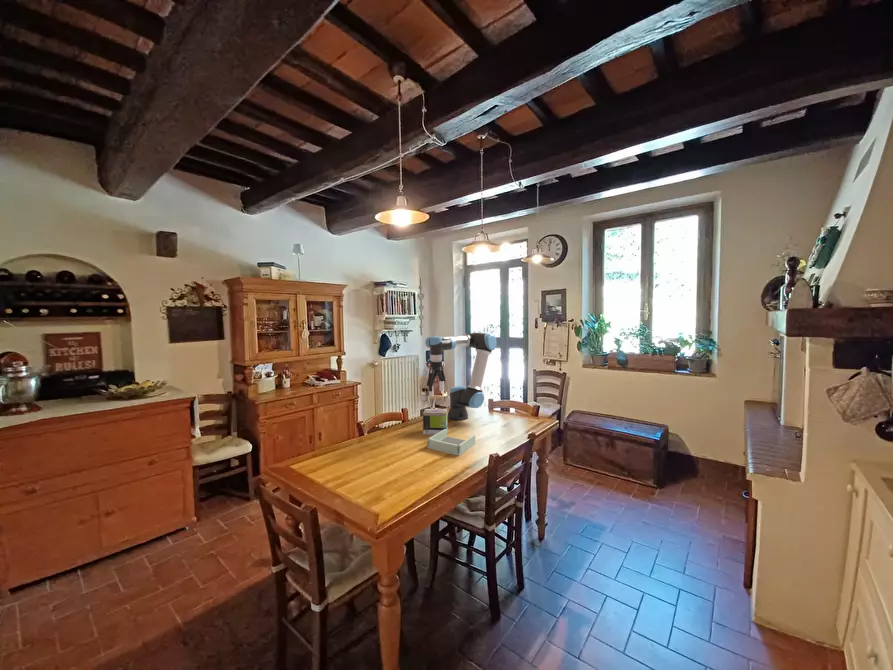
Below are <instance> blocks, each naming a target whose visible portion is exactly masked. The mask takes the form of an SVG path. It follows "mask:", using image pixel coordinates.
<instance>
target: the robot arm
mask: <svg viewBox="0 0 893 670" xmlns="http://www.w3.org/2000/svg"><path fill="white" fill-rule="evenodd" d="M424 344H425V346H426V348H429V352H430V353H429V356H430V357H429V359H430V364H429V365H430V367H431V369H429V371H428V372H429V374H428V376H427V377H428V379H427V383H426V386H427V387H428V396H429V397H434V384H435V380H436V378H437V377H438V380H439V381H438V383H439V392H444V390H445V389H444V383H445V382H446V376H445V373H444V367H443V361H442V360H443V351H451V350H454V349H455V348H456V347H464V348H472V349H475V352H476V355H475V358H474V363H473V368H472V372H471V376H470V380H469V383H468V384H469V385H467V386H465V385H456V386H452V387H451V388H450V391H449V408H448V411H447V419H449V420H452V421H464V420H468V418H469V413H468V409H467V407H469V408H471V409H479V408H480V407H481V406H482V405H483V404H484V401H485V395H484V393H483V388H482V385H483V380H484V377H485V373H486V367H487V363H488V360H489V356H490V355H491V354H492V351H494V350H495V349H496V348H497V338H496V336H495V335H494V334H492V333H486V332H485V333H484V332H471V333H464V334H462V335H451V336H450V335H449V336H439V335H434V336H427V337H426V338H425V341H424Z"/></svg>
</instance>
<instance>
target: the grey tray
mask: <svg viewBox="0 0 893 670" xmlns="http://www.w3.org/2000/svg"><path fill="white" fill-rule="evenodd" d="M447 433H448V430H447V429H444V430H442V431H441V432H439V433H437V434H435V435H431V436H430V437H428V438H427V449H430V450H433V451H438V452H440V453H441V452H442V453H445V454H449V455H453V456H458V457H460V456H461V455H463V454H464V453H465V452H467V451H468V450H470V449H471V448H472V447H474V446H475V444H476V434H472V435H471V436H470V437H468V438H467V439H466V440H464V439H461V438H455V437H452V436H447V435H448V434H447Z"/></svg>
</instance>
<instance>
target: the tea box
mask: <svg viewBox="0 0 893 670" xmlns="http://www.w3.org/2000/svg"><path fill="white" fill-rule="evenodd" d="M423 410H424V411H423V412H422V430H423V431H422V434H423V435H425V436H434V435H435V434H437V433H439V432H441V431H442V430H444V429H447V431H448V430H449V429H448V419H449V418H448V409H447V408H443V409H442V408H424V409H423Z"/></svg>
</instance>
